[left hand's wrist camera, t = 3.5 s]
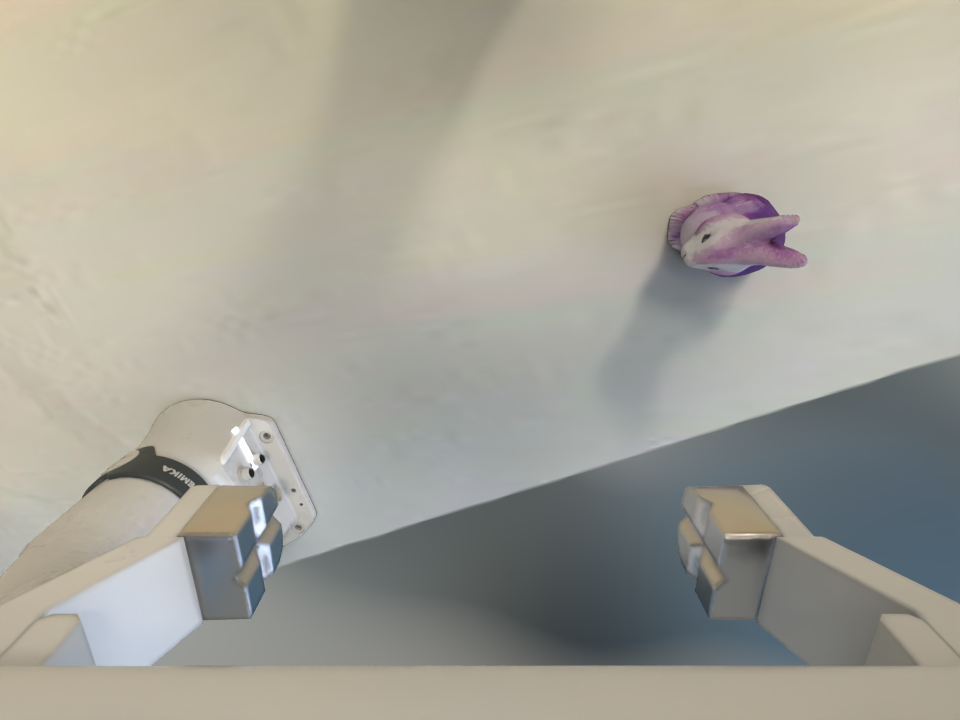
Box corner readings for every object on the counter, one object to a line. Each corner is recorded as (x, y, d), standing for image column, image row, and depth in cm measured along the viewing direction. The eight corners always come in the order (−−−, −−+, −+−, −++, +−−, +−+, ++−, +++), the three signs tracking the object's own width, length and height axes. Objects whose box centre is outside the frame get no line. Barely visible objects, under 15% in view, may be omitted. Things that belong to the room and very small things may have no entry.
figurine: (642, 235, 56) (697, 258, 41) (723, 163, 53) (811, 163, 39) (694, 298, 58) (763, 342, 44) (775, 233, 56) (875, 256, 41)
